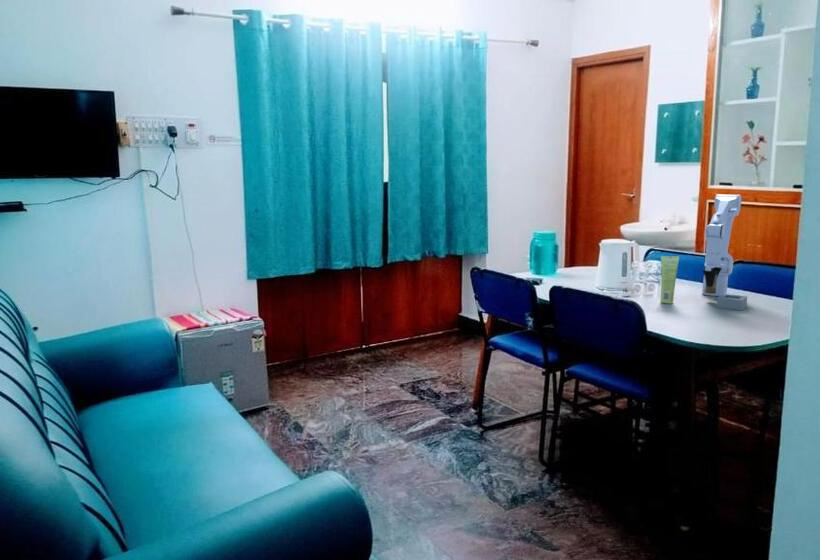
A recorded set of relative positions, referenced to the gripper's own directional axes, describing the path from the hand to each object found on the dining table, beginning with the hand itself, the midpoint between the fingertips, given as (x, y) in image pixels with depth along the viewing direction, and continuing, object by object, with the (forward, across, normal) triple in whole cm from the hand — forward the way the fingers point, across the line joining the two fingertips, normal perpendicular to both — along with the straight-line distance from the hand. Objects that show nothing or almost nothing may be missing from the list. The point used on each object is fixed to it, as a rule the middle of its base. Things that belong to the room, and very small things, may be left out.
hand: (710, 285), depth 263 cm
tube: (+7, -13, +14) cm, 20 cm away
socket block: (+7, -6, -10) cm, 13 cm away
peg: (+3, 0, 0) cm, 3 cm away
